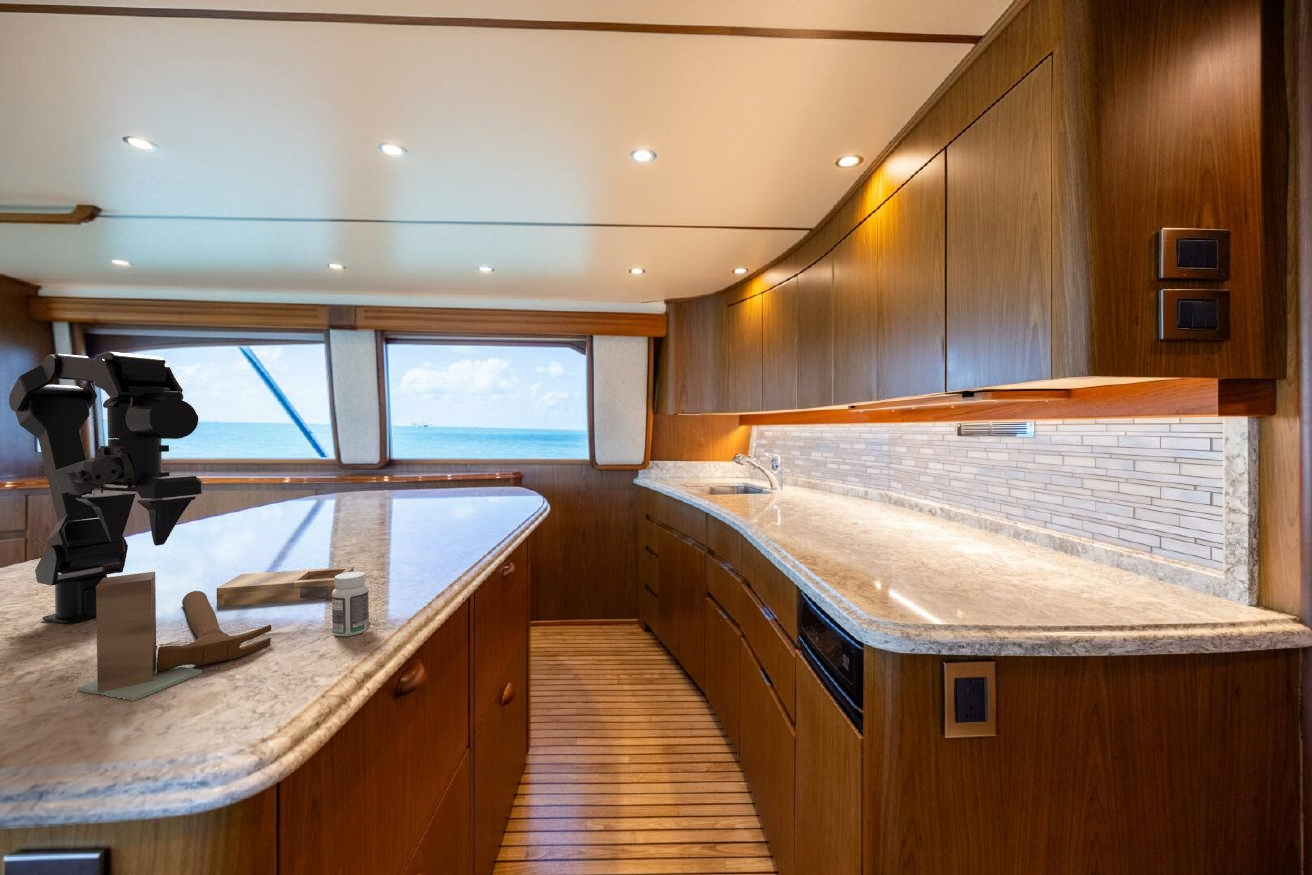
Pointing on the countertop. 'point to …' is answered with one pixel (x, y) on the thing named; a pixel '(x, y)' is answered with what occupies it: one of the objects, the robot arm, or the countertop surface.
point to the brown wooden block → (126, 630)
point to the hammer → (207, 638)
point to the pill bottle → (350, 604)
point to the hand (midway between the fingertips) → (136, 543)
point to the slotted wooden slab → (279, 586)
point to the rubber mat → (146, 684)
